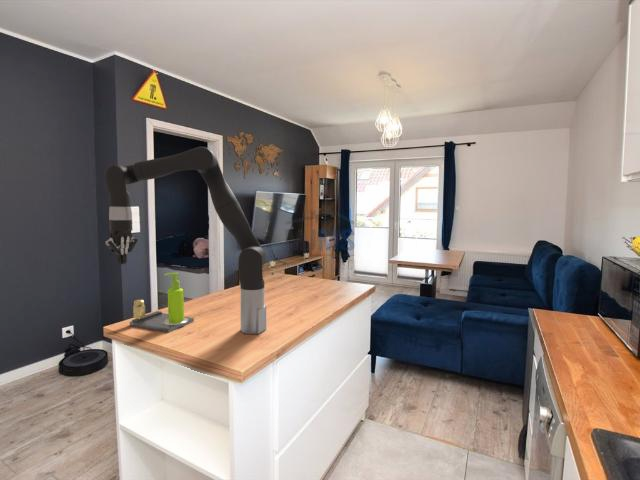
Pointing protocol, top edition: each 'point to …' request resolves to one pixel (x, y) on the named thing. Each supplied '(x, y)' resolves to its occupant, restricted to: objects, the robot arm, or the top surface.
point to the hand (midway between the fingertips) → (122, 263)
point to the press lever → (139, 309)
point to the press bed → (159, 322)
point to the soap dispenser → (175, 300)
